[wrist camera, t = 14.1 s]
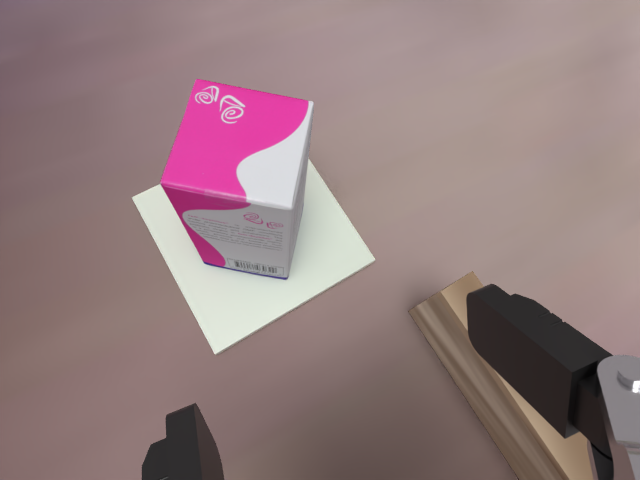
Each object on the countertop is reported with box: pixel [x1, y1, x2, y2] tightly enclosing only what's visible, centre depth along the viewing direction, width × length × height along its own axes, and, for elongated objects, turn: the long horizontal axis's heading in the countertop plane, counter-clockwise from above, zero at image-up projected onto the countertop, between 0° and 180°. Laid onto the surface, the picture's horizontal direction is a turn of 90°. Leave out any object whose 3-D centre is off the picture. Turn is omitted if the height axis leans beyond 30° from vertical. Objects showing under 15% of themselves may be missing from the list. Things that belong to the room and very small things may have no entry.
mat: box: [132, 158, 375, 355], centre depth 30 cm, size 12×12×1 cm
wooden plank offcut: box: [408, 271, 593, 480], centre depth 25 cm, size 2×20×7 cm, turn 32°
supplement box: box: [160, 79, 314, 280], centre depth 25 cm, size 6×6×12 cm
